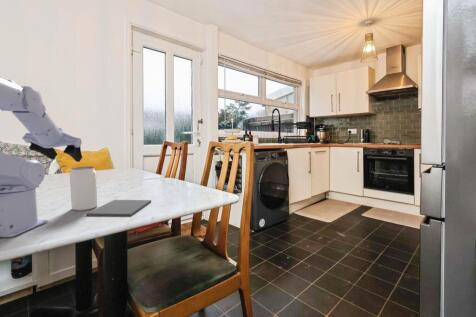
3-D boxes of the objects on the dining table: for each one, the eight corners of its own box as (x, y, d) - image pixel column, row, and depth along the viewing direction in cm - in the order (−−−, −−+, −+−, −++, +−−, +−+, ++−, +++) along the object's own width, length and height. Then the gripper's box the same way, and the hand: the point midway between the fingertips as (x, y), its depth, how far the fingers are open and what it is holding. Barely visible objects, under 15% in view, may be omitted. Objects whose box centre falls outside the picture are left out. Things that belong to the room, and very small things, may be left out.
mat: (131, 216, 63) (131, 213, 63) (86, 215, 63) (86, 213, 63) (151, 201, 77) (151, 200, 77) (114, 201, 77) (114, 199, 77)
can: (85, 211, 66) (83, 169, 65) (66, 210, 67) (63, 168, 66) (102, 205, 72) (101, 166, 71) (84, 204, 74) (83, 166, 73)
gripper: (77, 118, 65) (96, 150, 75) (22, 113, 64) (50, 145, 75) (64, 138, 60) (86, 168, 71) (5, 132, 60) (37, 163, 71)
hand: (67, 158), depth 73 cm, fingers open, 7 cm apart
